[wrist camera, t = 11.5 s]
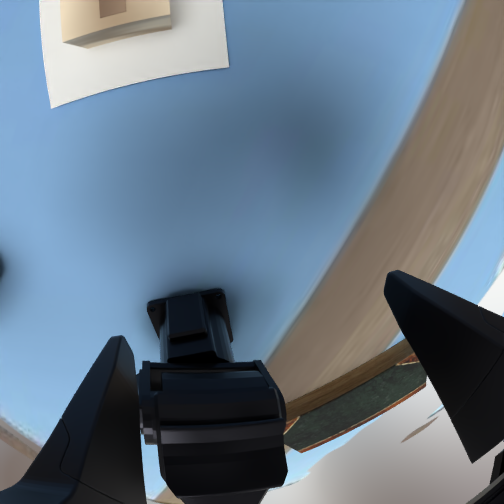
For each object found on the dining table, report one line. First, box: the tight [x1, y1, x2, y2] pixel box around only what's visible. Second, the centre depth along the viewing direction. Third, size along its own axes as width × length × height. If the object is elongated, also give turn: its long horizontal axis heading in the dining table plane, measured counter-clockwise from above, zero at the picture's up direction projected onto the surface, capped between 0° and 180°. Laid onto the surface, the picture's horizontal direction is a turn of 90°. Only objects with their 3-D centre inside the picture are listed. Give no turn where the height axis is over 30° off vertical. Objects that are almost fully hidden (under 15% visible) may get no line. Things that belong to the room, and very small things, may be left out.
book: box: [284, 338, 427, 453], centre depth 42 cm, size 17×4×25 cm
